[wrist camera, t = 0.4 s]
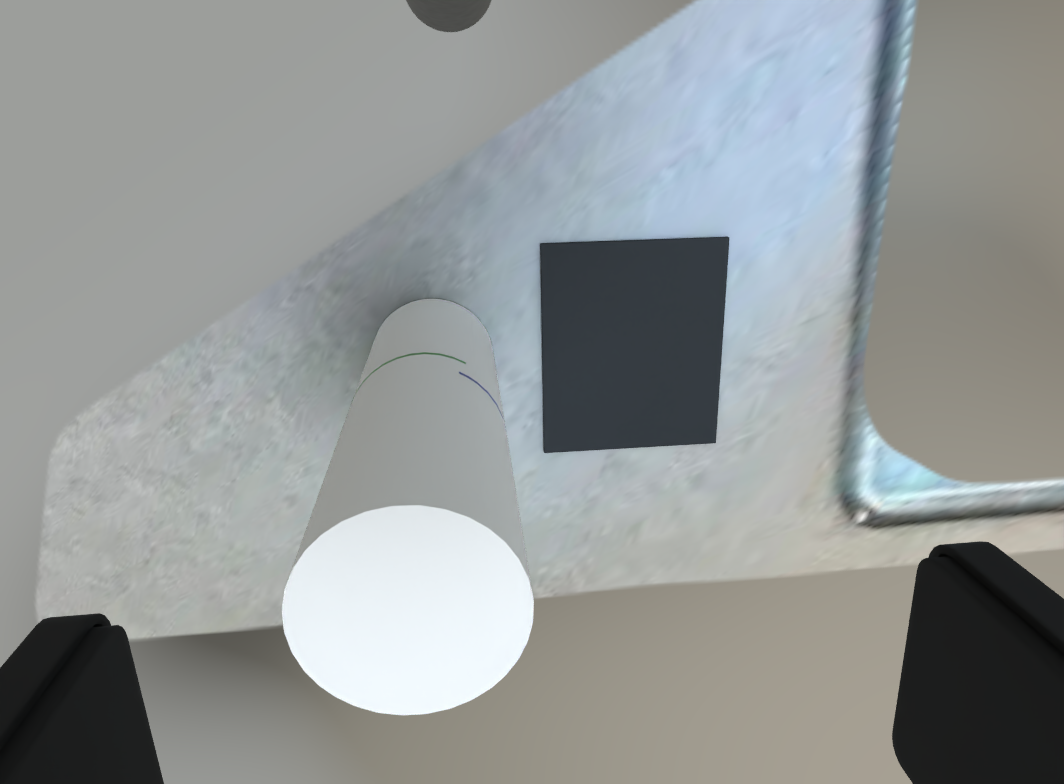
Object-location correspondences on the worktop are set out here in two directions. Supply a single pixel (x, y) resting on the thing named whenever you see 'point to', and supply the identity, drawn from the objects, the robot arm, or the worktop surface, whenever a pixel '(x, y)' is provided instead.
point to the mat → (632, 342)
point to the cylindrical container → (415, 528)
